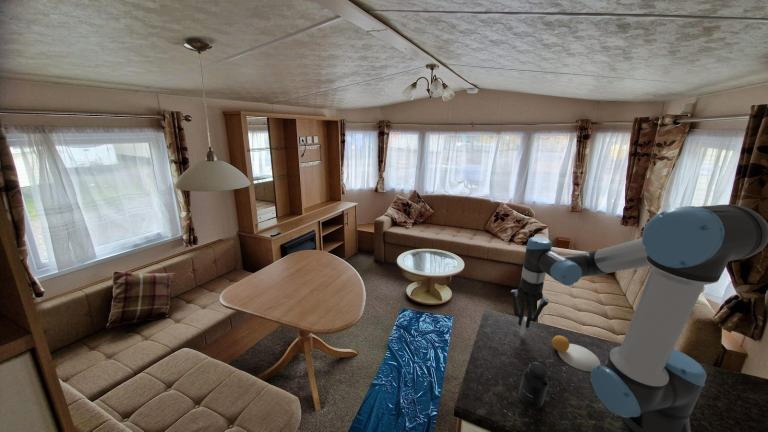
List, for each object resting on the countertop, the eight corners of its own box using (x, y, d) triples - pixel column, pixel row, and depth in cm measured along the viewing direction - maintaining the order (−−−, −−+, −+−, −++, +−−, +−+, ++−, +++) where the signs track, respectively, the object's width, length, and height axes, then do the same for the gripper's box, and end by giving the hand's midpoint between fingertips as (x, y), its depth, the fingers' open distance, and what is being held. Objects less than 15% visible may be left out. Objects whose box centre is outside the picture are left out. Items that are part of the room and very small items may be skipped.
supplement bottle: (519, 406, 92) (526, 374, 88) (517, 387, 98) (523, 356, 94) (545, 412, 90) (553, 380, 86) (541, 393, 96) (548, 362, 92)
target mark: (601, 377, 102) (601, 377, 102) (556, 361, 109) (556, 360, 109) (599, 352, 113) (599, 352, 113) (559, 339, 119) (559, 339, 119)
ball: (572, 350, 109) (558, 338, 110) (561, 357, 112) (547, 346, 113) (573, 340, 113) (559, 329, 114) (562, 347, 116) (549, 337, 117)
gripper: (553, 279, 112) (542, 333, 119) (515, 269, 118) (506, 321, 126) (551, 288, 106) (539, 345, 113) (511, 278, 112) (502, 332, 120)
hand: (522, 332), depth 119 cm, fingers closed
